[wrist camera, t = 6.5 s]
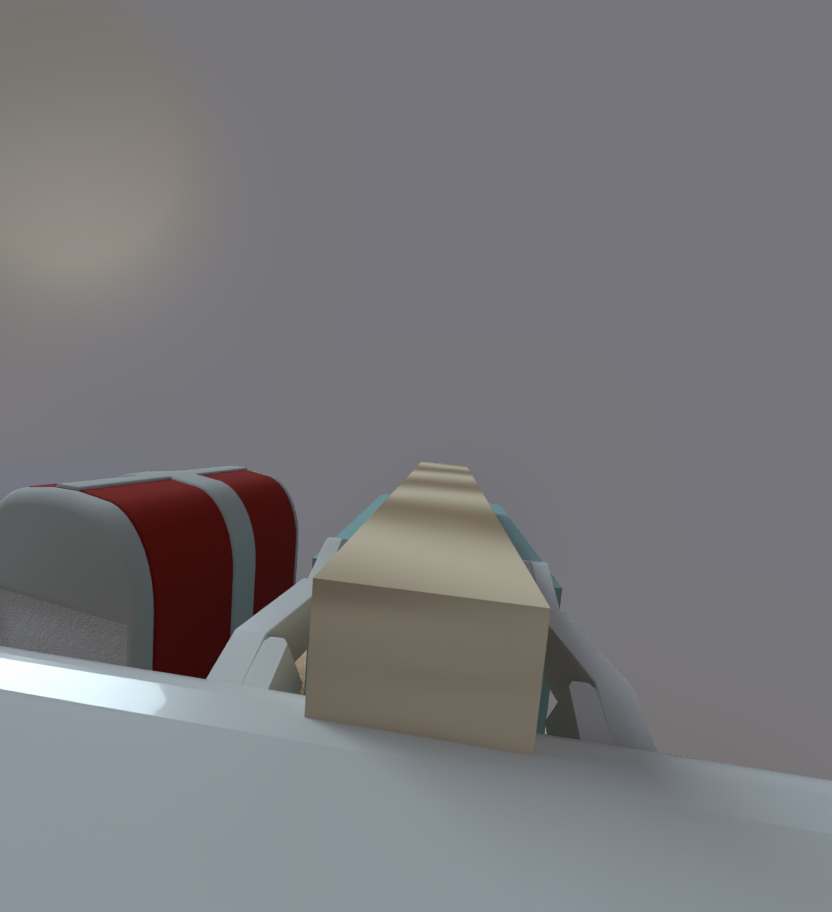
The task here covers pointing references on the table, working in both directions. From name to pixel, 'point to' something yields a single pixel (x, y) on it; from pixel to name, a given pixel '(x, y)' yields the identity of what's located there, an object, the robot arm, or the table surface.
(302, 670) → the table surface
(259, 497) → the red striped toaster
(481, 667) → the rail
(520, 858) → the robot arm
